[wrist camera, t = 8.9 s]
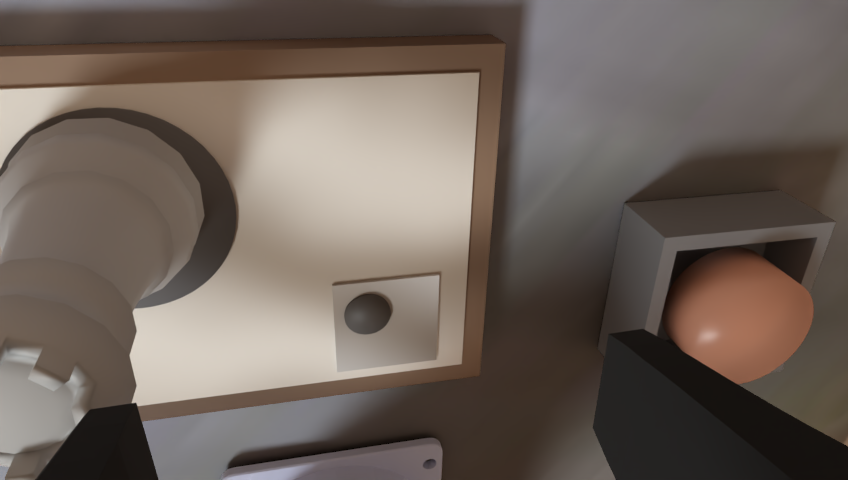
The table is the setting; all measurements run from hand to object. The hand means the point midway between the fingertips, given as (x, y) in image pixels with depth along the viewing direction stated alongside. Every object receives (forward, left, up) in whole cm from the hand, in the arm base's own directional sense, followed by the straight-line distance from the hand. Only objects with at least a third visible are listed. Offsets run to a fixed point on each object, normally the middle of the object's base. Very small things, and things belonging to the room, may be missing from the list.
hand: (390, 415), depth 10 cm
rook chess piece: (0, +6, -9) cm, 10 cm away
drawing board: (-2, +2, -10) cm, 10 cm away
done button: (-5, -13, -8) cm, 16 cm away
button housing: (-5, -13, -10) cm, 17 cm away
